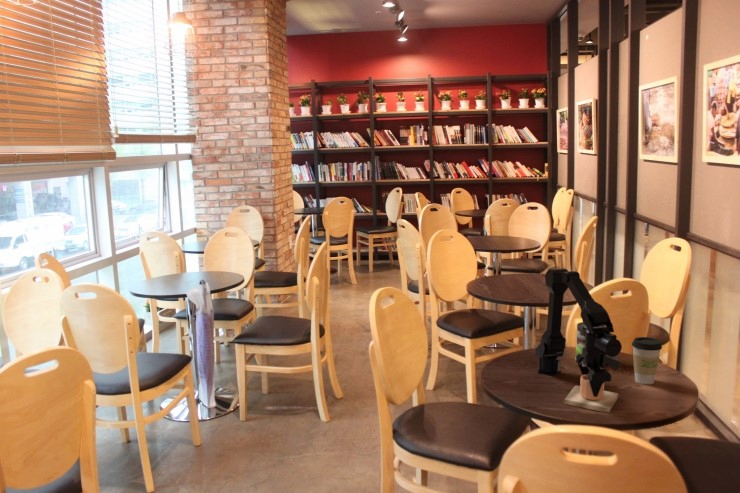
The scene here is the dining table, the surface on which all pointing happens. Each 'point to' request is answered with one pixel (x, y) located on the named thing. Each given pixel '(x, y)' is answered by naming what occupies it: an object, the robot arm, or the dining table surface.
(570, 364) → the dining table surface
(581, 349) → the coffee can
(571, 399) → the duct mount
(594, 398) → the collar sleeve
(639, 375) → the coffee cup
